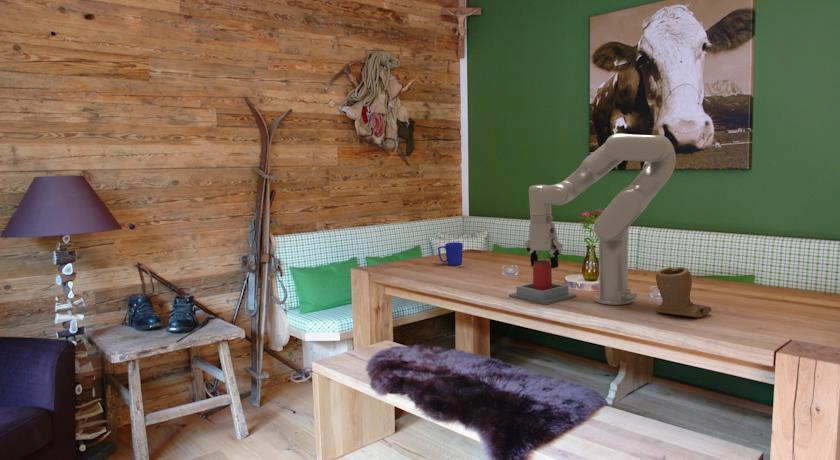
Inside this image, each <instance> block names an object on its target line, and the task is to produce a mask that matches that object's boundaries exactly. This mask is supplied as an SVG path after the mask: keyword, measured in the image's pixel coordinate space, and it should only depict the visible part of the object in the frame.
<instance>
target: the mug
mask: <svg viewBox="0 0 840 460" xmlns="http://www.w3.org/2000/svg"><path fill="white" fill-rule="evenodd" d="M463 245H464V244H463V242H459V241H458V242H455V241H454V242H446V243H445V245H441V246H438V247H437V251H438V253H437V254H438V257H439V261H440V262H442V263H447V264H448V265H449V266H460V265H462V262H463V247H464V246H463ZM441 248H442V249H443V248H444V250H445V254H446V260H443V259H442V257H441Z"/></svg>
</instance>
